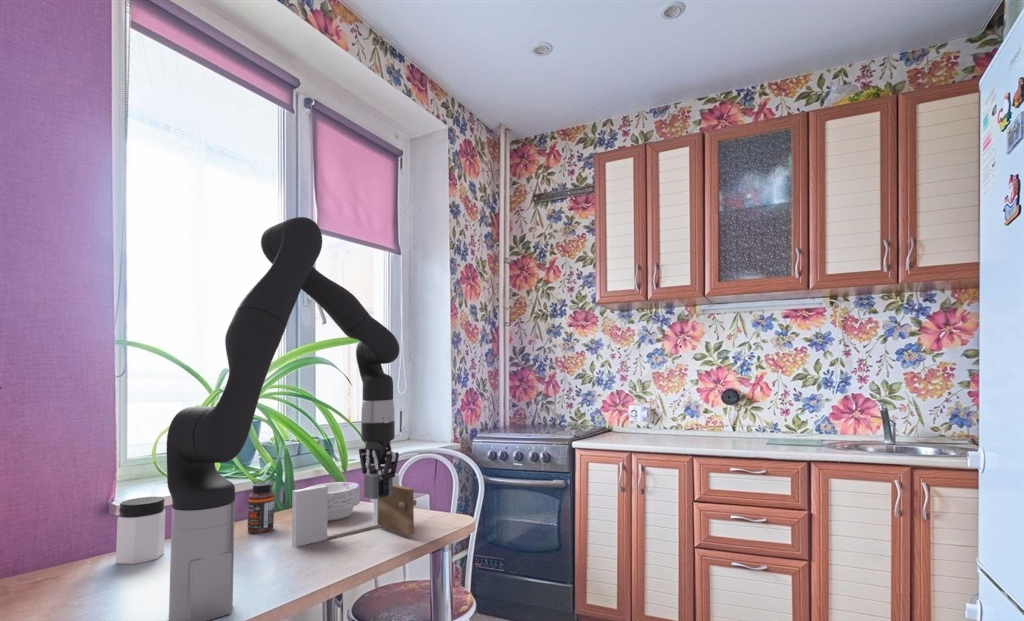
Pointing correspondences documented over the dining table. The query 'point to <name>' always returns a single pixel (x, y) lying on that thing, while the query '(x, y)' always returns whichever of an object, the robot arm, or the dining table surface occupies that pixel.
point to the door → (397, 510)
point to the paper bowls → (341, 499)
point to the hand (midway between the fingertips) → (378, 494)
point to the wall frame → (319, 516)
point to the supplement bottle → (261, 509)
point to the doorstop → (374, 486)
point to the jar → (140, 530)
